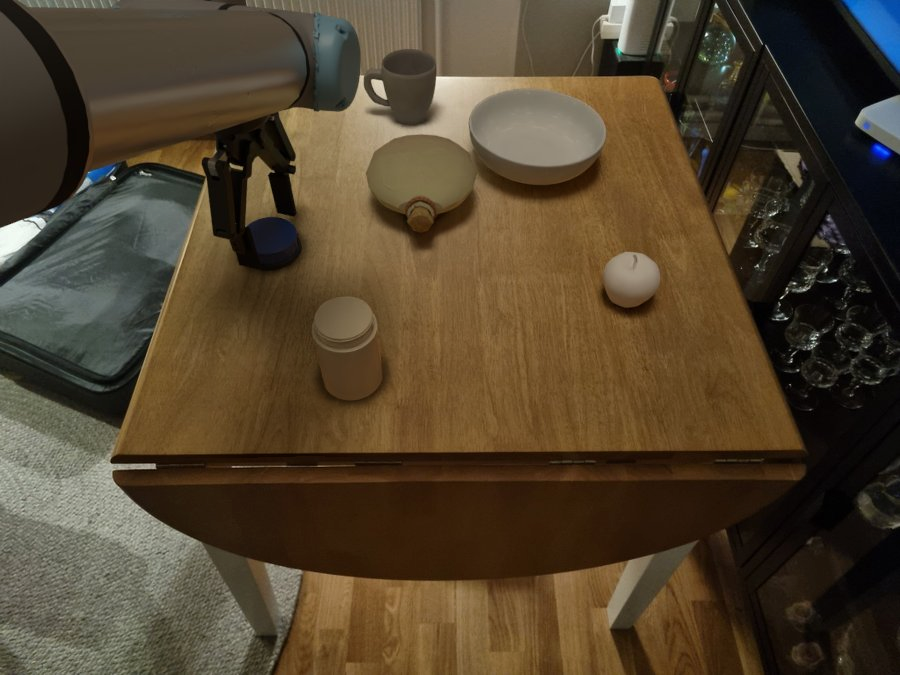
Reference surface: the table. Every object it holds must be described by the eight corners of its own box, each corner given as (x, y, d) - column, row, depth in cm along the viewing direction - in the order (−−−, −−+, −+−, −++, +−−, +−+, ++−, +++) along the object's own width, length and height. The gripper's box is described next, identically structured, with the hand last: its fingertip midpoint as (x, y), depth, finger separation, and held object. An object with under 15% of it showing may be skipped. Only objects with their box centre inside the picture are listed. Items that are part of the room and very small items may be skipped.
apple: (589, 282, 87) (601, 237, 80) (639, 275, 88) (654, 230, 81) (608, 321, 82) (622, 277, 76) (660, 313, 83) (678, 268, 77)
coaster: (263, 279, 86) (262, 275, 85) (231, 248, 89) (230, 244, 89) (313, 251, 89) (312, 247, 89) (280, 222, 93) (279, 218, 92)
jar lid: (309, 249, 88) (307, 238, 87) (259, 273, 85) (255, 262, 84) (283, 220, 92) (280, 209, 91) (233, 241, 89) (230, 230, 88)
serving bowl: (551, 222, 94) (558, 184, 89) (440, 166, 102) (440, 127, 97) (622, 157, 104) (632, 119, 99) (516, 111, 113) (520, 73, 107)
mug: (437, 102, 114) (437, 49, 106) (434, 131, 108) (434, 77, 101) (369, 100, 114) (365, 46, 106) (363, 128, 108) (357, 74, 101)
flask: (473, 170, 101) (478, 254, 90) (371, 170, 101) (364, 254, 90) (476, 119, 94) (481, 203, 83) (366, 118, 93) (357, 203, 83)
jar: (347, 411, 73) (336, 354, 65) (311, 374, 76) (296, 315, 68) (394, 377, 76) (390, 318, 68) (357, 343, 79) (349, 282, 71)
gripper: (247, 33, 78) (281, 183, 95) (138, 137, 64) (200, 290, 81) (304, 43, 77) (328, 193, 94) (205, 151, 63) (254, 304, 80)
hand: (269, 238), depth 88 cm, fingers open, 10 cm apart
